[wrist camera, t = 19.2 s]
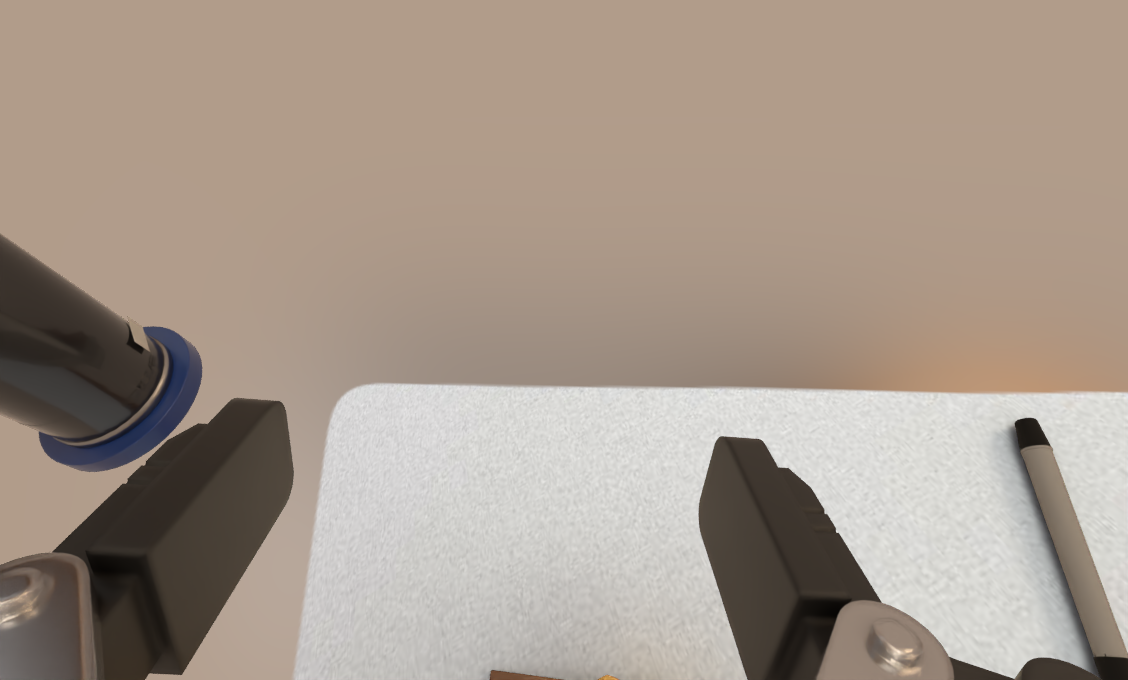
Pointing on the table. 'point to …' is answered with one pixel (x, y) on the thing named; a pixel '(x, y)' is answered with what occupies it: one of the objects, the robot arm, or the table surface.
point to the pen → (1073, 552)
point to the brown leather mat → (515, 676)
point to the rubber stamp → (608, 678)
